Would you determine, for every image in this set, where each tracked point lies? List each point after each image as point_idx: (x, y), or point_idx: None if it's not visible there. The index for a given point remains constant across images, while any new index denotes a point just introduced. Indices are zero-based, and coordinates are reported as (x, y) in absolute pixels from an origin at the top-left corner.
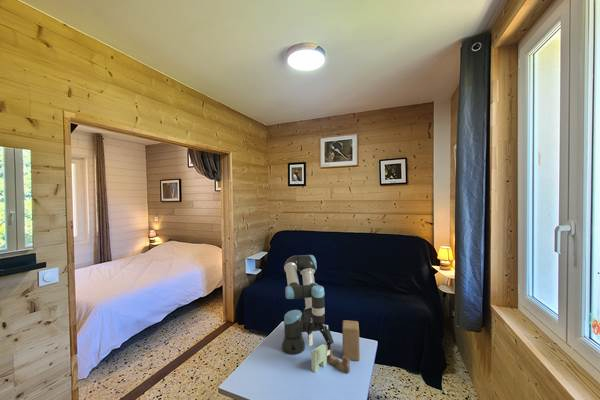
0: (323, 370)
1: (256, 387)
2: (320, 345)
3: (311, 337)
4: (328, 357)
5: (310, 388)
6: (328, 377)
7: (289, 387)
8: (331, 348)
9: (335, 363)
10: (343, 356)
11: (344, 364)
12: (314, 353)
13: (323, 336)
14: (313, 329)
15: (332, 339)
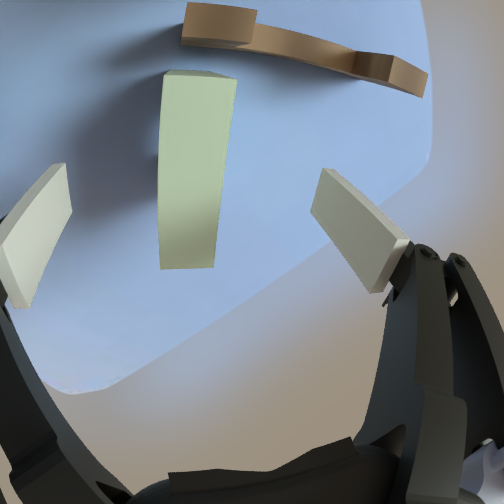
0: None
1: (103, 366)
2: (162, 125)
3: (30, 234)
4: (212, 44)
5: (246, 270)
6: (283, 163)
7: (174, 317)
8: (247, 9)
9: (283, 56)
10: (393, 71)
11: (372, 80)
12: (206, 266)
13: (381, 373)
14: (42, 396)
15: (479, 289)
